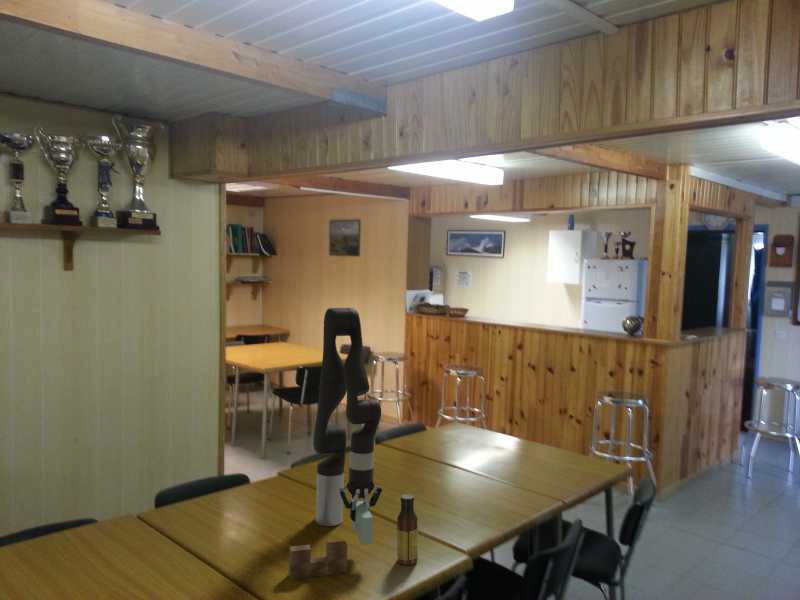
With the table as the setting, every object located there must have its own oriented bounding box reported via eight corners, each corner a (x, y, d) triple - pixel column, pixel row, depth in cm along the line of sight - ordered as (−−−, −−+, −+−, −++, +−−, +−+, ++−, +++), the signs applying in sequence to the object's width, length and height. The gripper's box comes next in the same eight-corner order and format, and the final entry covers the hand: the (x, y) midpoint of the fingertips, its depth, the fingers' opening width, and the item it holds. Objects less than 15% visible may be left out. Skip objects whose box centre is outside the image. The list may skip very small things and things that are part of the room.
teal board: (352, 526, 187) (353, 501, 187) (361, 526, 188) (362, 501, 188) (361, 544, 176) (362, 518, 176) (371, 543, 177) (372, 517, 176)
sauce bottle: (417, 556, 185) (419, 492, 184) (418, 566, 179) (420, 500, 178) (395, 556, 185) (397, 492, 184) (396, 566, 179) (398, 499, 178)
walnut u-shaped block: (290, 579, 169) (291, 551, 168) (289, 574, 172) (289, 546, 171) (346, 572, 174) (347, 545, 173) (344, 567, 176) (345, 540, 176)
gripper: (380, 459, 190) (377, 512, 191) (336, 462, 186) (334, 516, 187) (387, 467, 183) (384, 523, 184) (341, 470, 179) (339, 527, 180)
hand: (359, 519), depth 185 cm, fingers closed on teal board, 3 cm apart
